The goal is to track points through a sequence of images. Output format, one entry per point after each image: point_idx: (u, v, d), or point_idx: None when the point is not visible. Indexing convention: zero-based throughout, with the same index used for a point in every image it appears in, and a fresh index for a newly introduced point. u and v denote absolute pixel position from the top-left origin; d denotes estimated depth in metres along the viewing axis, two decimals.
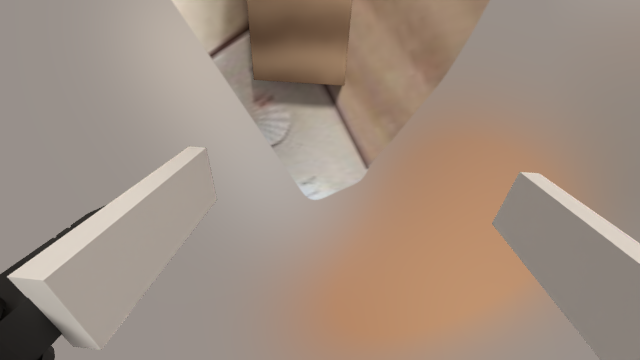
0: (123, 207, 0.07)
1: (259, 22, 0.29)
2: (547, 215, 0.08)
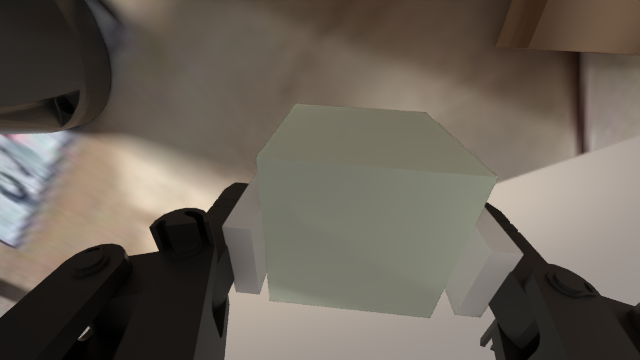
0: None
1: None
2: None
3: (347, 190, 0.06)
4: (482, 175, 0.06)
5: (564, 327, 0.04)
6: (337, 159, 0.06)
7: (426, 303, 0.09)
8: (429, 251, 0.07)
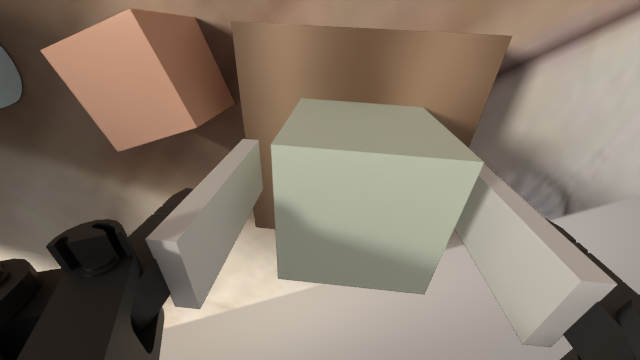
0: (211, 188, 0.08)
1: None
2: (473, 191, 0.09)
3: (351, 174, 0.07)
4: (469, 160, 0.07)
5: None
6: (343, 146, 0.07)
7: (421, 279, 0.09)
8: (424, 230, 0.08)
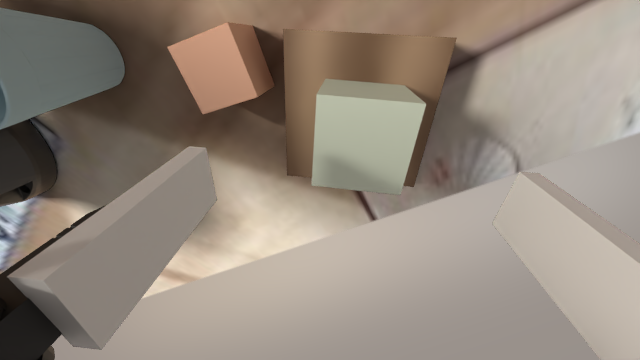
0: (123, 207, 0.07)
1: None
2: (547, 215, 0.08)
3: (358, 111, 0.14)
4: (419, 103, 0.13)
5: None
6: (354, 96, 0.14)
7: (397, 183, 0.16)
8: (398, 147, 0.15)
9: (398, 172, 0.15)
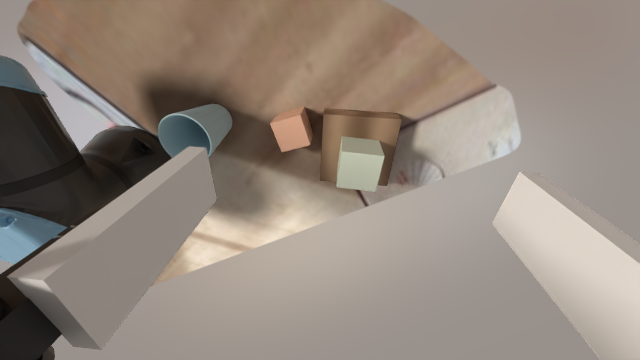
0: (123, 207, 0.07)
1: None
2: (547, 215, 0.08)
3: (358, 158, 0.34)
4: (381, 155, 0.34)
5: None
6: (356, 152, 0.34)
7: (374, 186, 0.36)
8: (374, 172, 0.35)
9: (374, 182, 0.36)
